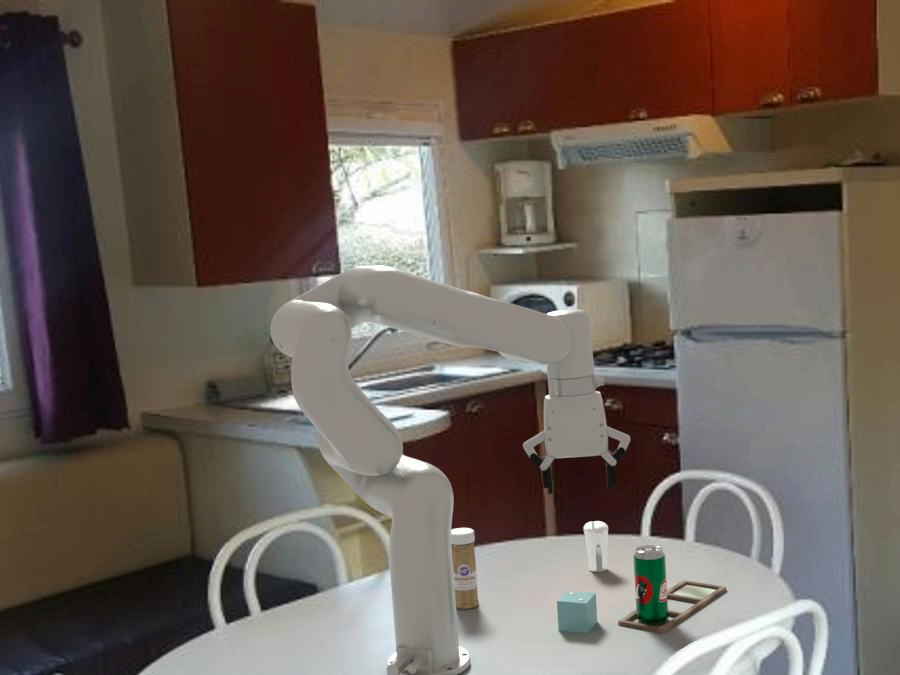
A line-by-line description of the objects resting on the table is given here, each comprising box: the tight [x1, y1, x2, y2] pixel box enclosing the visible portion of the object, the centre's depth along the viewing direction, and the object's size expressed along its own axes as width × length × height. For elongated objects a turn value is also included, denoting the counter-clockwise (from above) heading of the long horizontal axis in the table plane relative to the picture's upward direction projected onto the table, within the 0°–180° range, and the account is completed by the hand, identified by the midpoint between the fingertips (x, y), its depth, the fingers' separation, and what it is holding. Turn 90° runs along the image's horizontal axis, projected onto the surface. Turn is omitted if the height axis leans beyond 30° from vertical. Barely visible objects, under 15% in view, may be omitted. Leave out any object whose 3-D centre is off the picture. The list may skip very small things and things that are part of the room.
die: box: [556, 590, 598, 634], centre depth 181 cm, size 5×5×5 cm
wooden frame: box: [617, 579, 727, 634], centre depth 187 cm, size 23×8×1 cm, turn 141°
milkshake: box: [583, 520, 609, 573], centre depth 209 cm, size 4×5×10 cm
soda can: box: [632, 545, 669, 626], centre depth 181 cm, size 5×5×12 cm
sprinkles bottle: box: [451, 527, 480, 610], centre depth 195 cm, size 5×5×14 cm
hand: (580, 490), depth 181 cm, fingers open, 9 cm apart
